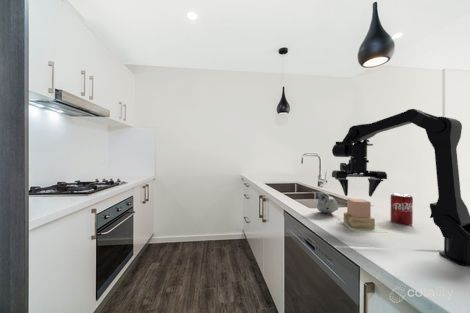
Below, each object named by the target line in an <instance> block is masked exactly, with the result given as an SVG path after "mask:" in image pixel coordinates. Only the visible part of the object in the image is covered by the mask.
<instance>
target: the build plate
mask: <svg viewBox="0 0 470 313" xmlns="http://www.w3.org/2000/svg"><path fill="white" fill-rule="evenodd" d="M336 219H337V220H338V221H340V223H342V224H344V225H345V226H346V227H347V228H348V229H350V230H352V232H361V233H363V232H365V233H388V231H386V229H384V228H382V227H379V226H378V225H376V224H375V229H356V228H351V227H350V226H349V225H347V224H346V223H345V222H344V217H342V218H341V217H337V218H336Z"/></svg>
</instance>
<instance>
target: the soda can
mask: <svg viewBox="0 0 470 313" xmlns="http://www.w3.org/2000/svg"><path fill="white" fill-rule="evenodd" d="M413 199H414V198H413V196H412V195H410V194H406V193H391V195H390V214H389V215H390V222H392V223H394V224H398V225H404V226H409V227H411V226H413V221H414V220H413V218H414V217H413V216H414V210H413V209H414V200H413Z"/></svg>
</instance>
